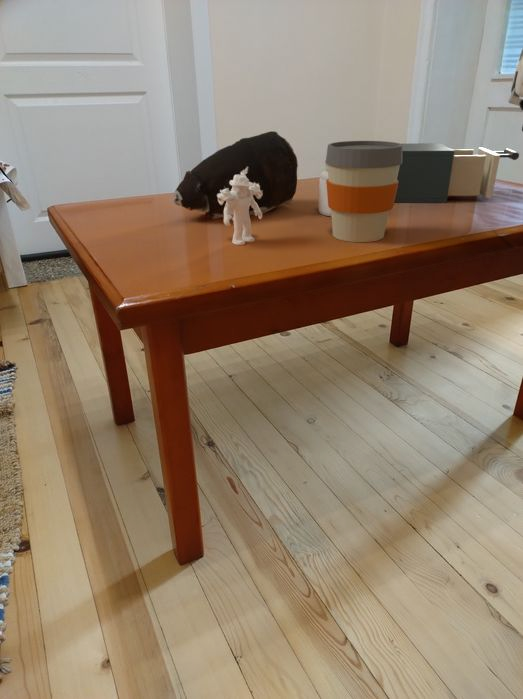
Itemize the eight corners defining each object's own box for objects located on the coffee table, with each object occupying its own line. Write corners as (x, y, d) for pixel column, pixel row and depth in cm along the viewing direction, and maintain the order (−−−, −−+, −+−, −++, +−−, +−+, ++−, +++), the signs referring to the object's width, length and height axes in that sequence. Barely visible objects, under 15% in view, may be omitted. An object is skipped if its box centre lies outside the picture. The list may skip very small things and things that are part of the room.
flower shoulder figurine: (253, 234, 92) (251, 164, 86) (269, 238, 89) (268, 166, 84) (215, 245, 86) (211, 171, 81) (230, 249, 84) (227, 173, 78)
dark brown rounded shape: (150, 156, 99) (256, 122, 108) (167, 227, 109) (263, 191, 118) (184, 176, 89) (298, 137, 98) (200, 252, 99) (302, 211, 108)
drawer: (498, 187, 121) (506, 147, 117) (515, 198, 110) (525, 154, 106) (414, 187, 123) (419, 147, 119) (423, 197, 112) (429, 154, 108)
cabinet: (434, 190, 124) (441, 143, 119) (446, 202, 112) (454, 150, 107) (368, 190, 125) (372, 143, 120) (373, 202, 113) (378, 151, 108)
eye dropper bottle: (318, 217, 102) (320, 153, 97) (318, 210, 107) (320, 150, 102) (339, 217, 102) (343, 153, 96) (339, 210, 107) (342, 150, 101)
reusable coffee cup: (308, 232, 92) (311, 144, 85) (363, 222, 98) (369, 139, 91) (352, 249, 83) (358, 151, 76) (409, 238, 88) (421, 145, 81)
